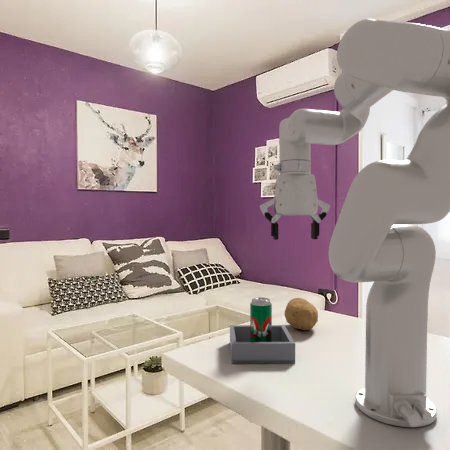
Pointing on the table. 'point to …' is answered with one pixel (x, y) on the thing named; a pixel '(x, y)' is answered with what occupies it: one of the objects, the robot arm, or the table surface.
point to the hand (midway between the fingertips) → (295, 239)
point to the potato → (301, 314)
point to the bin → (261, 347)
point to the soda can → (260, 320)
